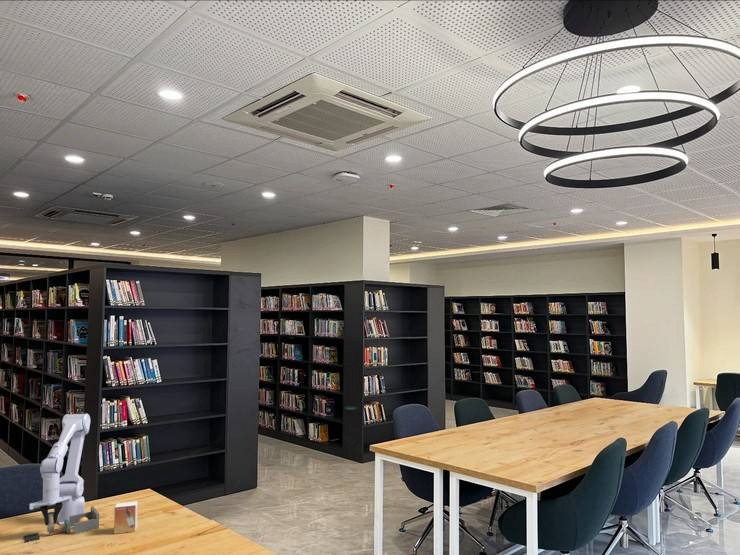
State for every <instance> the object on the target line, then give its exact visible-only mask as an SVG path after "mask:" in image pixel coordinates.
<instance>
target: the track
mask: <svg viewBox="0 0 740 555" xmlns="http://www.w3.org/2000/svg"><path fill="white" fill-rule="evenodd" d="M40 537H41V536H40V535H39V532H34V533H30V534H26V535H23V538H22V541H23V542H24V543H25V544H27V543H30V542H29V541H31V542H35V541H38V540H40ZM34 540H35V541H34ZM26 542H27V543H26Z"/></svg>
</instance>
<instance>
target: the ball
mask: <svg viewBox="0 0 740 555" xmlns="http://www.w3.org/2000/svg"><path fill="white" fill-rule="evenodd" d="M86 520H89V519H88V518H86V517H83V518H81V519H80V520H79V521H78V522H82V521H86Z"/></svg>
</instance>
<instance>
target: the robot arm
mask: <svg viewBox="0 0 740 555" xmlns="http://www.w3.org/2000/svg"><path fill="white" fill-rule="evenodd" d="M61 425H62V426H61V427H62V430H61V433H60V436H59V438H58V441H57V442H54V444H53V445H52V448H51V449H50V451H49V453H48V454H47V457H45V459H43V460H42V461H41V464H40V467H39V470H40V474H41V478H42V500H39V501H38V500H37V501H36V502H30V503H29V504H28V505H29V511H31V510H32V511H33V510H34V509H38V508H39V509H40V512H41V513H42V514H41V515H42V516H43V519H44V525H45V526H47V525H48V513H49V506H53V512H54V525H55V524H57V522H58V525H60V526H61V525H64V520H67V519H68V521H69V516H73V515H77V514H82V513H86V512H85V508H86V506H85V505H86V504H85V497H84V495H83V493H84V489H85V488H84V487H85V486H84V482H85V480H84V479H83V478H82V477H81V476H80V475H79V470H80V463H81V458H82V452H83V448H84V447H83V446H84V443H85V442H84V441H85V436H86V435H88V434H89V432H90V427H91V426H90V425H91V416H90V414H88V413H80V414H79V413H77V414H69V413H68V414H67V413H66V414H65V415H64V416H63V417H62V420H61ZM69 443H70V446H68V444H69ZM68 449H69V451H68ZM67 452H68V456H67V462H66V467H65V473H64V475H62V476H61V477H60V475H61V474H60V473H61V472H62V470H63V466H64V458H65V456H66V454H67ZM82 495H83V496H82Z"/></svg>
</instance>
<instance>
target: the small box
mask: <svg viewBox="0 0 740 555" xmlns="http://www.w3.org/2000/svg"><path fill="white" fill-rule="evenodd" d="M138 502H139V501H138V500H135V501H126V502H117V503H115V504H116V505H115V507H114V515H113V517H114V520H113V521H114V522H113V524H114V525H113V534H117V535H118V534H125V533H126V532H128V533H135V532H136V531H137V527H138V505H139V504H138ZM126 534H127V533H126Z"/></svg>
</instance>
